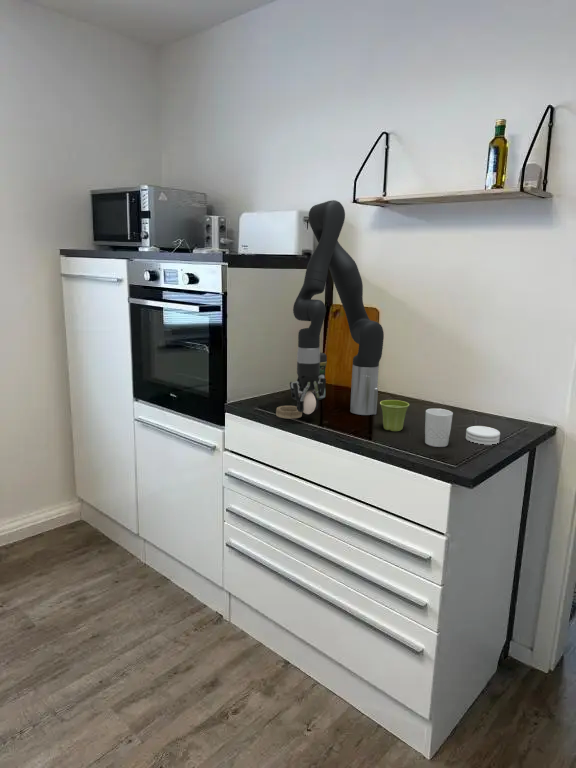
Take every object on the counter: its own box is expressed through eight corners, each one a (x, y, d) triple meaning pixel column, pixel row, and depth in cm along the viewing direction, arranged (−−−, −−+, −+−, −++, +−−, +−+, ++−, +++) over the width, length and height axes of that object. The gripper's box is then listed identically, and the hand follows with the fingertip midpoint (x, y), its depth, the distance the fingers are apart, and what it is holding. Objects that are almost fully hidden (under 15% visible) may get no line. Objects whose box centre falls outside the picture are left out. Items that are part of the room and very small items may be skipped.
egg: (319, 413, 190) (319, 390, 188) (308, 417, 186) (309, 393, 184) (306, 410, 193) (307, 388, 191) (296, 414, 189) (296, 391, 187)
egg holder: (302, 412, 202) (302, 406, 201) (300, 419, 193) (301, 413, 192) (277, 411, 202) (278, 405, 202) (275, 417, 194) (275, 411, 193)
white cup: (418, 443, 171) (420, 411, 169) (432, 437, 177) (434, 407, 175) (441, 449, 166) (444, 417, 164) (454, 444, 171) (457, 412, 169)
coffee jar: (297, 396, 224) (298, 350, 220) (311, 393, 229) (313, 348, 225) (314, 401, 217) (315, 354, 213) (328, 398, 222) (330, 352, 218)
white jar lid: (476, 434, 183) (477, 423, 182) (505, 441, 176) (506, 431, 175) (459, 439, 176) (460, 429, 176) (488, 448, 169) (489, 437, 168)
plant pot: (385, 434, 179) (387, 407, 177) (373, 425, 188) (375, 400, 186) (412, 432, 182) (414, 406, 180) (399, 424, 191) (401, 399, 189)
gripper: (317, 356, 192) (316, 404, 196) (284, 361, 184) (283, 411, 188) (332, 360, 187) (331, 409, 190) (298, 364, 178) (297, 416, 182)
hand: (307, 410), depth 189 cm, fingers closed on egg, 5 cm apart
